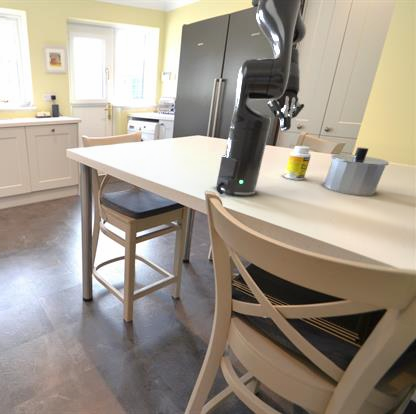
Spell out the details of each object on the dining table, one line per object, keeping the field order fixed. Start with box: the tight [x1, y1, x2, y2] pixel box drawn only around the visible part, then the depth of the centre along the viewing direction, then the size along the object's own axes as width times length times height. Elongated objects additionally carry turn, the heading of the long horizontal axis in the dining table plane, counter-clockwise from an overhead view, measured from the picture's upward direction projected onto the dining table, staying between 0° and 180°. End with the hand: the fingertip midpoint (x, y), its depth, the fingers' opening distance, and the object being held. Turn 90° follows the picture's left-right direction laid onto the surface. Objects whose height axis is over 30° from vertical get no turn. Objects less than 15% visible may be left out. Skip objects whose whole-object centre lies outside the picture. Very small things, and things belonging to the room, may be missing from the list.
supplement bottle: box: [284, 145, 312, 181], centre depth 91 cm, size 6×6×10 cm
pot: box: [324, 158, 386, 197], centre depth 82 cm, size 11×11×8 cm
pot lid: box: [331, 146, 390, 167], centre depth 79 cm, size 12×12×4 cm
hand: (285, 129), depth 95 cm, fingers closed
